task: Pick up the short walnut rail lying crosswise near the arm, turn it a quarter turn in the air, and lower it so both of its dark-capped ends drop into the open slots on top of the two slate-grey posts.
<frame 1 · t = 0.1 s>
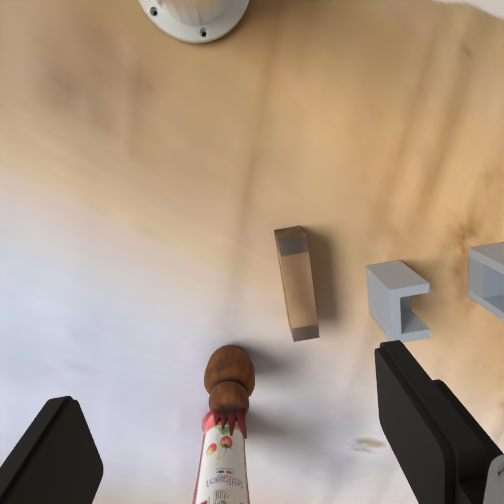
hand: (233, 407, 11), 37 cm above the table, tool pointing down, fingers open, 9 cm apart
rail: (293, 276, 50), on the table
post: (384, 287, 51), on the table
wooden figurine: (230, 356, 53), on the table
liquor: (224, 417, 57), on the table
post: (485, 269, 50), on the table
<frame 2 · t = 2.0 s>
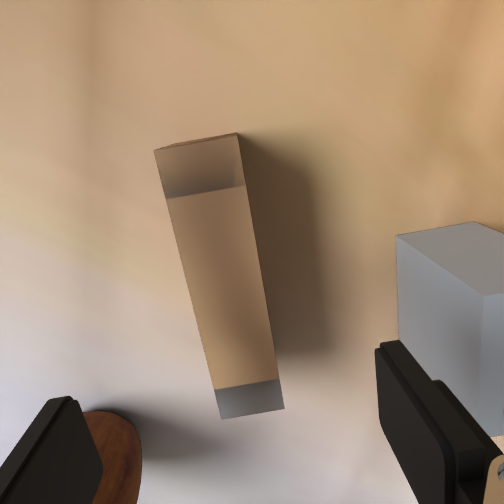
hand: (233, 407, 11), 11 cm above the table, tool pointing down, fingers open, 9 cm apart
rail: (229, 259, 21), on the table
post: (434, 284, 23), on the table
wooden figurine: (105, 428, 25), on the table
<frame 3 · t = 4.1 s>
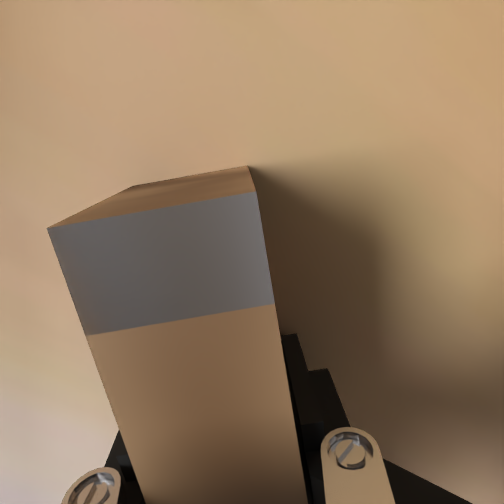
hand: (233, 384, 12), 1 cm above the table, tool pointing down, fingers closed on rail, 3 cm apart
rail: (233, 375, 13), on the table, touching gripper
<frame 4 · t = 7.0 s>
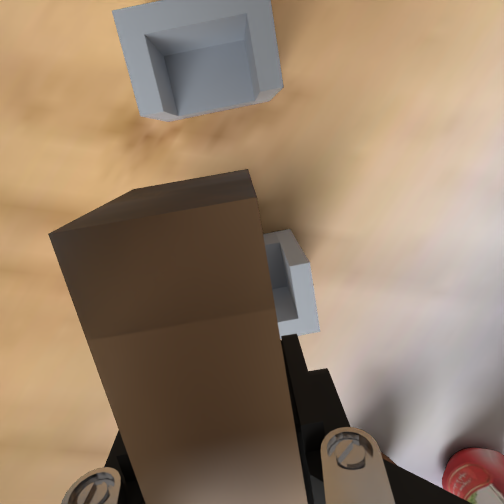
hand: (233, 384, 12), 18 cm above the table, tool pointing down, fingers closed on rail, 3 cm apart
rail: (234, 377, 13), point 17 cm above the table, touching gripper
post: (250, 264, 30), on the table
liquor: (466, 462, 38), on the table
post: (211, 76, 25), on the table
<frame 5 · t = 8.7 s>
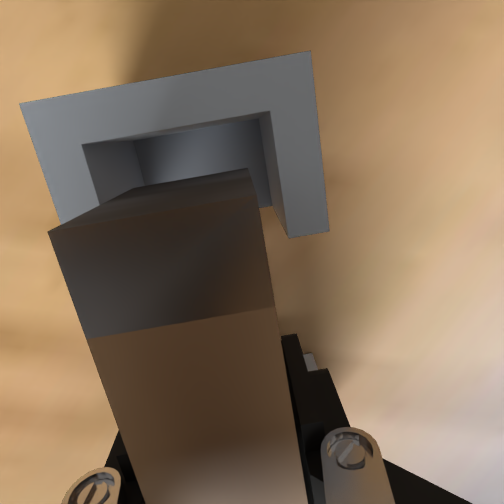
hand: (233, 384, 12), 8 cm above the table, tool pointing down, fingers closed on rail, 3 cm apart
rail: (234, 376, 13), point 7 cm above the table, touching gripper
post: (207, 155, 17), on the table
when the fingers open (5 cm above the table, at t = 9.9 s): rail drops 1 cm, resting on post, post.
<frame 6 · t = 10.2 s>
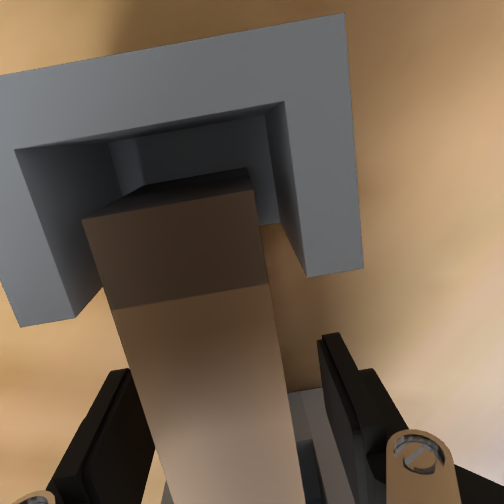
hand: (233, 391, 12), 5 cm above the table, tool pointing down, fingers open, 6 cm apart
rail: (234, 357, 14), point 3 cm above the table, touching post, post
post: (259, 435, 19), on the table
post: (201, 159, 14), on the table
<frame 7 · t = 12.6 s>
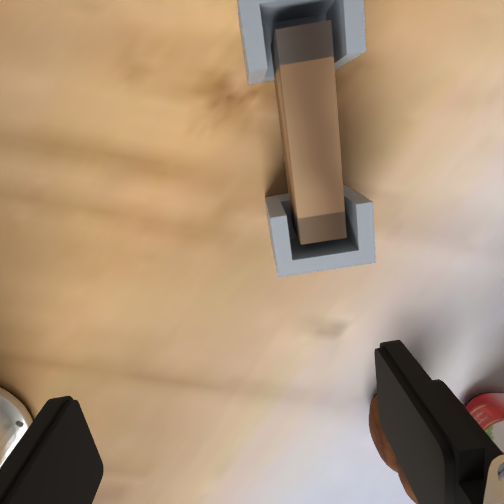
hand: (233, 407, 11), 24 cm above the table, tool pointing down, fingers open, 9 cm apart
rail: (303, 140, 29), point 3 cm above the table, touching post, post
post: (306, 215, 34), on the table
wooden figurine: (387, 400, 42), on the table
liquor: (482, 407, 42), on the table
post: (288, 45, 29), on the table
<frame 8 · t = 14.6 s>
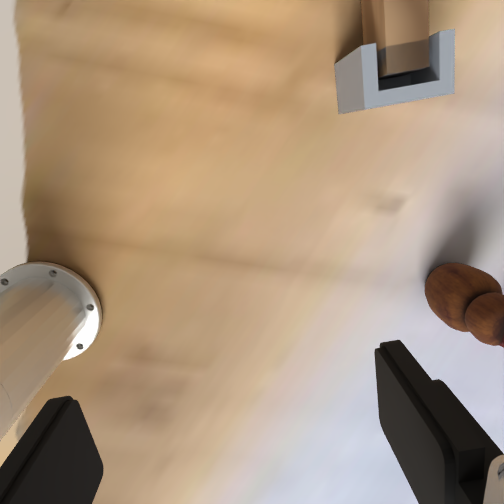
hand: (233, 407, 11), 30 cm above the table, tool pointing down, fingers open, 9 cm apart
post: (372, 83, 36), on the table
wooden figurine: (440, 280, 44), on the table
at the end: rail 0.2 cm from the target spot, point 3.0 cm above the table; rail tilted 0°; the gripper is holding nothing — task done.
